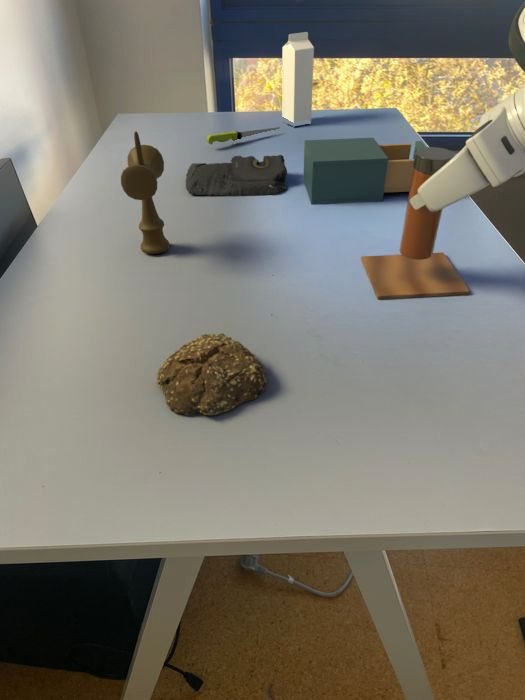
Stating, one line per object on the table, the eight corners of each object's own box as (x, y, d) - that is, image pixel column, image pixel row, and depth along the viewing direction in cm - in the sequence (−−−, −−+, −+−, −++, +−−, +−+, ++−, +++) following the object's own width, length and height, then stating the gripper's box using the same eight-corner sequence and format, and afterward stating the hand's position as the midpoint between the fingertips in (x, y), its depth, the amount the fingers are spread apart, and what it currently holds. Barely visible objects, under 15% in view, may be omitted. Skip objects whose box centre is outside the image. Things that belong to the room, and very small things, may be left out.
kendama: (174, 235, 94) (158, 121, 82) (170, 262, 87) (151, 140, 74) (142, 237, 94) (120, 122, 82) (134, 263, 87) (110, 142, 74)
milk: (311, 124, 145) (315, 33, 131) (293, 128, 143) (295, 35, 128) (299, 119, 149) (301, 30, 135) (281, 122, 147) (282, 32, 132)
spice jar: (427, 243, 82) (447, 146, 72) (437, 259, 78) (460, 159, 68) (394, 244, 81) (410, 147, 72) (403, 261, 77) (422, 160, 68)
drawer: (434, 171, 114) (440, 139, 109) (452, 192, 105) (460, 158, 100) (355, 175, 113) (358, 143, 109) (366, 196, 104) (370, 162, 100)
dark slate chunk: (189, 170, 119) (187, 149, 116) (284, 167, 120) (284, 146, 117) (183, 197, 108) (180, 175, 105) (288, 194, 108) (288, 172, 105)
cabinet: (368, 177, 114) (373, 137, 109) (382, 201, 104) (388, 158, 99) (303, 180, 114) (304, 140, 108) (311, 204, 104) (312, 161, 98)
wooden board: (442, 255, 87) (443, 252, 87) (469, 294, 78) (470, 291, 78) (360, 259, 87) (361, 256, 86) (377, 299, 77) (378, 296, 77)
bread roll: (224, 338, 71) (222, 308, 68) (280, 387, 63) (280, 356, 60) (140, 376, 65) (133, 346, 62) (190, 436, 57) (185, 404, 54)
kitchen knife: (277, 137, 140) (278, 125, 138) (280, 138, 139) (281, 127, 138) (206, 147, 130) (206, 134, 128) (208, 148, 129) (208, 136, 127)
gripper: (522, 97, 69) (438, 156, 80) (472, 137, 57) (379, 201, 67) (546, 137, 70) (459, 190, 81) (502, 185, 58) (405, 241, 68)
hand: (422, 196), depth 74 cm, fingers closed on spice jar, 5 cm apart
